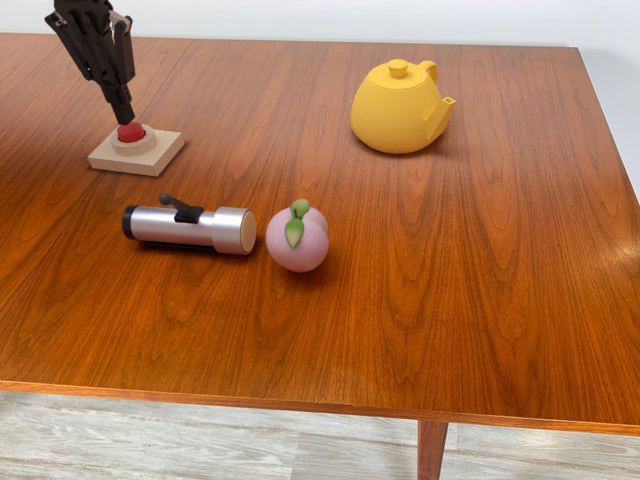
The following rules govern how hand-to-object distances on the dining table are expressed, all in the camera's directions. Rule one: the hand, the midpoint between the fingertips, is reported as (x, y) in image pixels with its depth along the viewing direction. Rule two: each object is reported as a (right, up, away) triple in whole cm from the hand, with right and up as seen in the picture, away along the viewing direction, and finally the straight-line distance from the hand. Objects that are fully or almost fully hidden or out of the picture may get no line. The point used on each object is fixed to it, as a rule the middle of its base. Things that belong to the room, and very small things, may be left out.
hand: (127, 120), depth 95 cm
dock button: (0, -2, +2) cm, 3 cm away
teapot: (+46, 0, +8) cm, 47 cm away
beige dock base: (0, -5, +5) cm, 7 cm away
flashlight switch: (+15, -17, -16) cm, 27 cm away
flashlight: (+15, -21, -11) cm, 28 cm away
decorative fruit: (+31, -24, -14) cm, 42 cm away
